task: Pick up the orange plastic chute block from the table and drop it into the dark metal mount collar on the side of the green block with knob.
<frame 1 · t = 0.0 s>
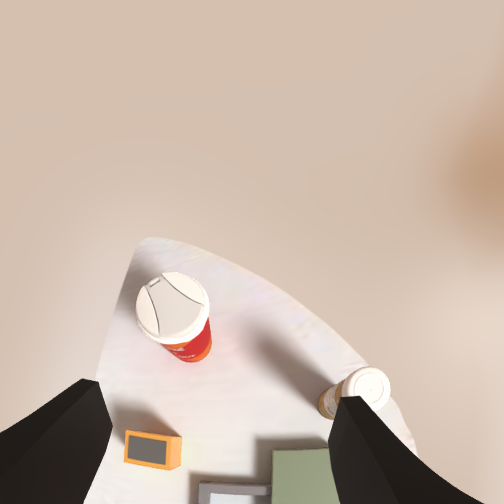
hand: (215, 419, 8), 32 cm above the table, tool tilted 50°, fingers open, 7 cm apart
sprinkles bottle: (333, 404, 38), on the table
paper cup: (191, 343, 42), on the table
chute block: (160, 448, 34), on the table
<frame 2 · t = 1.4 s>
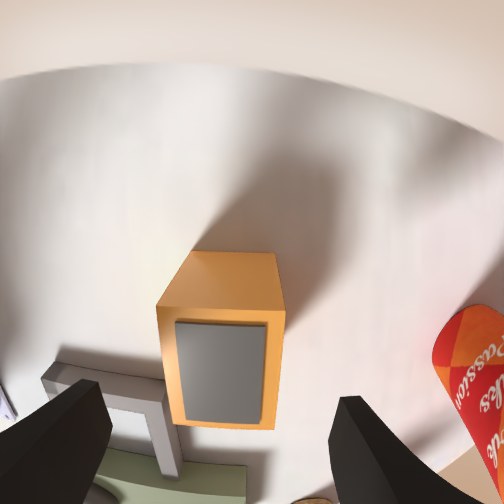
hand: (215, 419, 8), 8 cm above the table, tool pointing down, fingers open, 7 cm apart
green block with knob: (142, 478, 21), on the table
paper cup: (463, 341, 17), on the table
chute block: (232, 303, 16), on the table
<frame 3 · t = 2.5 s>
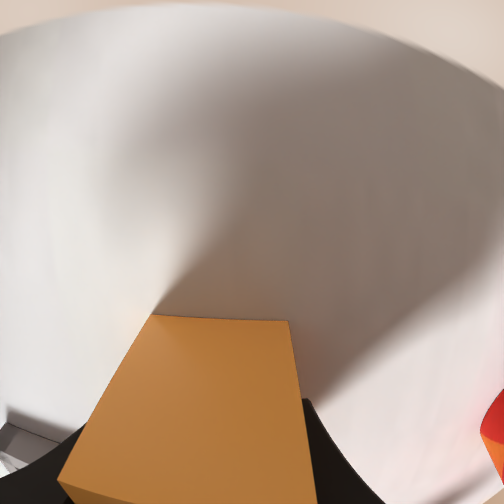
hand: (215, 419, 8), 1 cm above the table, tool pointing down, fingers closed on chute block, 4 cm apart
chute block: (219, 389, 10), on the table, touching gripper
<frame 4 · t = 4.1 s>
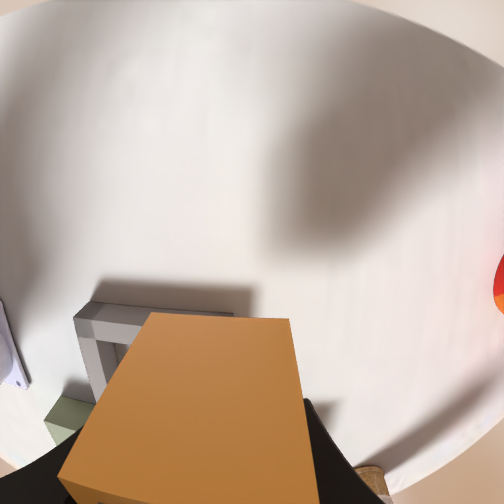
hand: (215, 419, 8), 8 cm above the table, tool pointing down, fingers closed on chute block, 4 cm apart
sprinkles bottle: (358, 476, 21), on the table
green block with knob: (177, 451, 20), on the table
chute block: (220, 387, 10), point 7 cm above the table, touching gripper
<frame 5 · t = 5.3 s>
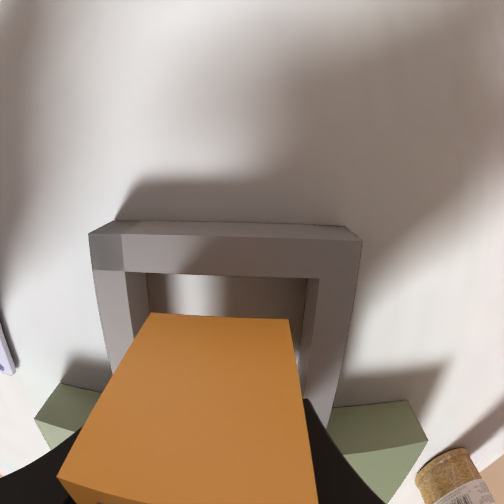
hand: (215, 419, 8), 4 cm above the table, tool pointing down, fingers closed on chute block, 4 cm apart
sprinkles bottle: (440, 463, 16), on the table
green block with knob: (228, 456, 15), on the table
chute block: (219, 387, 10), point 3 cm above the table, touching gripper
when the fingers open (3 cm above the table, at t = 6.0 s): chute block drops 2 cm, resting in green block with knob.
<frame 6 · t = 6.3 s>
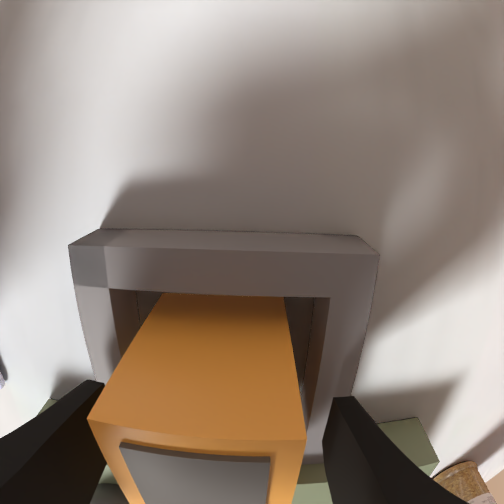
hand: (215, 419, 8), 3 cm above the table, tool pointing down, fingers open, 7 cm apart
sprinkles bottle: (447, 476, 15), on the table
green block with knob: (227, 475, 13), on the table
chute block: (223, 361, 11), resting in green block with knob
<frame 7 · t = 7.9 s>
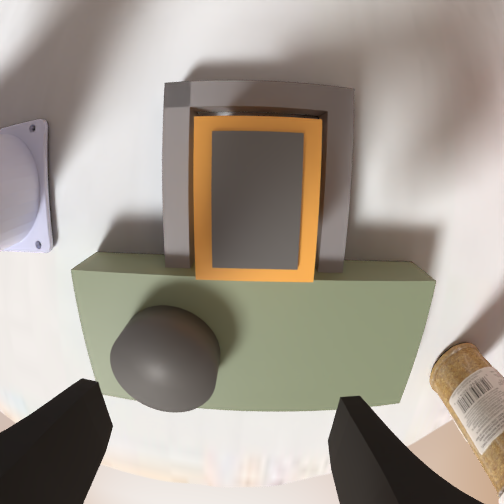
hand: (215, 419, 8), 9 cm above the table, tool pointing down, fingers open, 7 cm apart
sprinkles bottle: (452, 364, 19), on the table
green block with knob: (252, 324, 18), on the table
chute block: (256, 184, 16), resting in green block with knob
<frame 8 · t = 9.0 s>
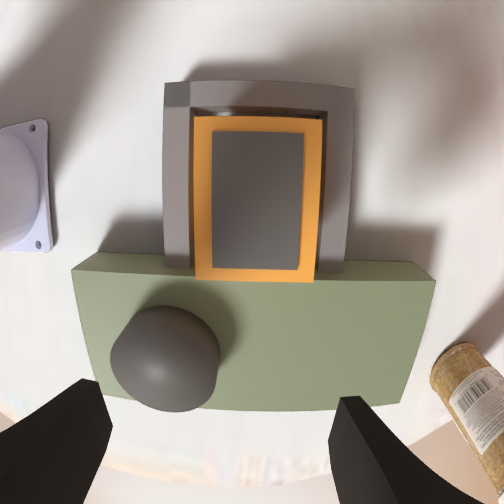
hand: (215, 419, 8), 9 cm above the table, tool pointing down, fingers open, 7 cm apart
sprinkles bottle: (452, 364, 19), on the table
green block with knob: (252, 324, 18), on the table
chute block: (256, 184, 16), resting in green block with knob
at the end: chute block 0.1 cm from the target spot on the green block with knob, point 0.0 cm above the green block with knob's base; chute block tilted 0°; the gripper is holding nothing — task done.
